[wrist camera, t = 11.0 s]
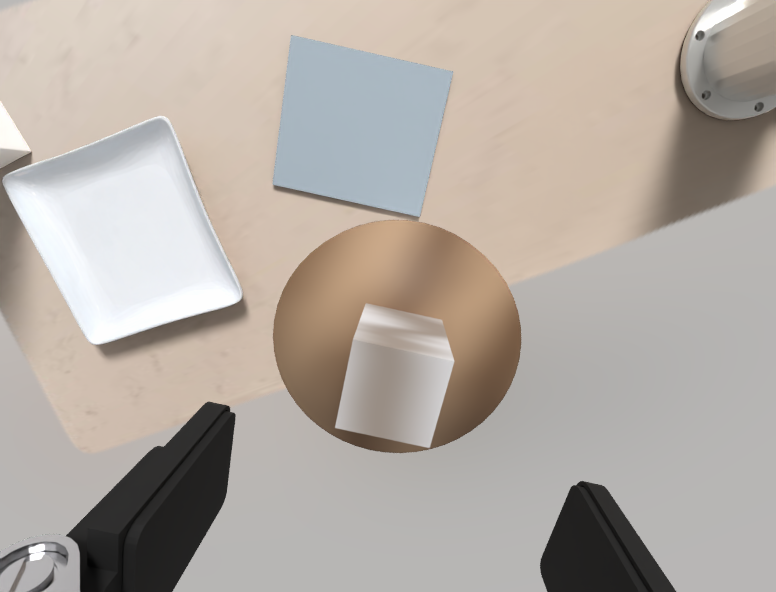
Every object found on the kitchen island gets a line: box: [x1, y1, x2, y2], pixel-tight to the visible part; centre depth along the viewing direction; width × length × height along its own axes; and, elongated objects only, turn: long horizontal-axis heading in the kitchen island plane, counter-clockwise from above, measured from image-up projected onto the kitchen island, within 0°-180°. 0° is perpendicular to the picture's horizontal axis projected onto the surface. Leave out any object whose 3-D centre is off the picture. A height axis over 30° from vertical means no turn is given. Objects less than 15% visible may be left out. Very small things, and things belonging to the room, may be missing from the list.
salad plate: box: [2, 116, 243, 345], centre depth 44 cm, size 21×21×3 cm
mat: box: [273, 35, 453, 217], centre depth 41 cm, size 17×15×1 cm
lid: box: [273, 220, 521, 453], centre depth 18 cm, size 13×13×6 cm
